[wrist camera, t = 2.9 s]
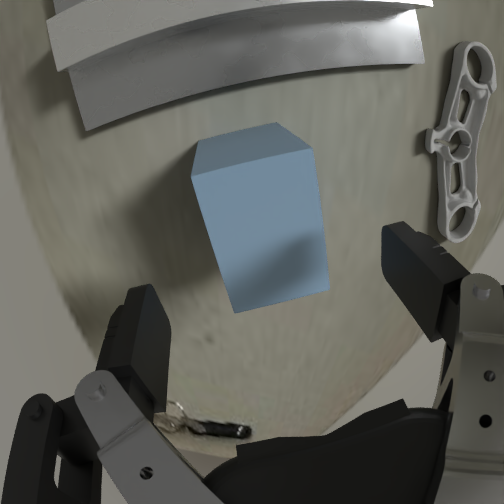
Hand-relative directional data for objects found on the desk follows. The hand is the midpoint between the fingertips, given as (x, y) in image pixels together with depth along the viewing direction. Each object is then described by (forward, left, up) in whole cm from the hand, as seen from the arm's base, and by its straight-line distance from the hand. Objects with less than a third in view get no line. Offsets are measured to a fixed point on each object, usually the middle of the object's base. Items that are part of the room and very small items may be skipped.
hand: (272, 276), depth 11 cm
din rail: (-2, -11, -10) cm, 15 cm away
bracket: (-16, 0, -10) cm, 19 cm away
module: (0, 0, -10) cm, 10 cm away
